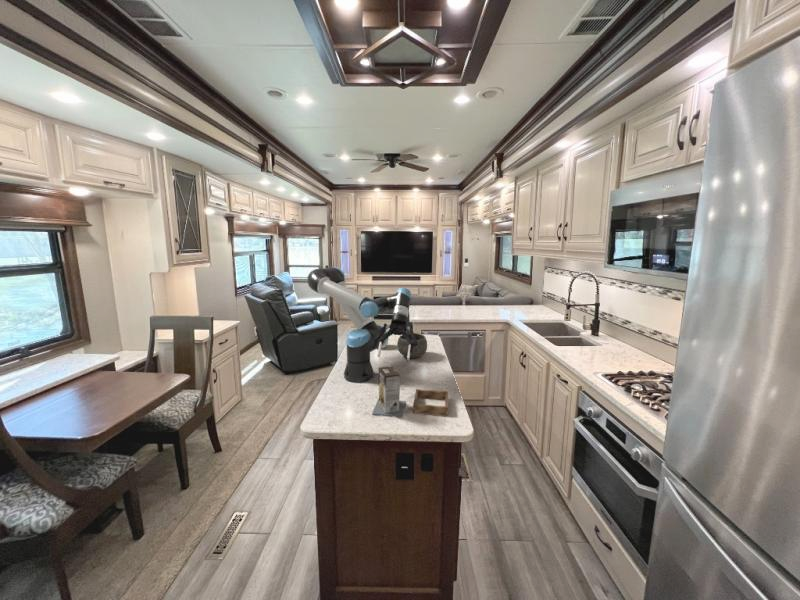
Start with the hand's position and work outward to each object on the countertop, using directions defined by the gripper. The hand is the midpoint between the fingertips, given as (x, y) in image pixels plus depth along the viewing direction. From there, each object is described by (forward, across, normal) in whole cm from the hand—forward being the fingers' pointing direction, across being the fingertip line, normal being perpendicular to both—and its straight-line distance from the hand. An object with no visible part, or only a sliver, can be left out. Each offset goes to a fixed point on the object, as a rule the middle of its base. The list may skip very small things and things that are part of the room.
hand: (393, 357), depth 145 cm
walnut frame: (+17, +18, +6) cm, 26 cm away
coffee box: (+21, +1, +2) cm, 21 cm away
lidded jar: (-29, -19, +55) cm, 65 cm away
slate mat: (+22, +2, +2) cm, 22 cm away
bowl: (-21, +3, +46) cm, 51 cm away
